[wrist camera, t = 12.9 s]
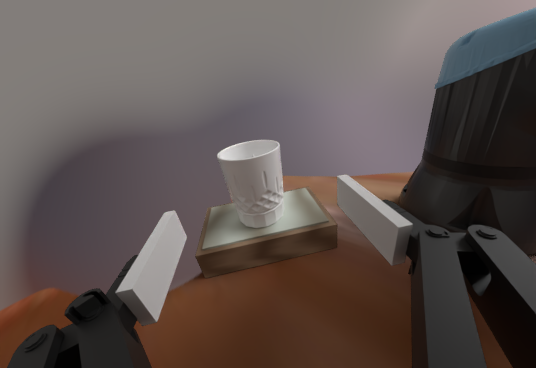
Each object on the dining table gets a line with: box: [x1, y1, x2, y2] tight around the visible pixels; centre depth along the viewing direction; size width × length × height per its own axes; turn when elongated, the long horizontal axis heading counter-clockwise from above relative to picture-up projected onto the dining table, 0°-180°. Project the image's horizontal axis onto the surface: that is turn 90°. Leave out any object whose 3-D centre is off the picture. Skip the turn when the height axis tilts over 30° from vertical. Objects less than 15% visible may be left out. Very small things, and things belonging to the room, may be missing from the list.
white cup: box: [217, 140, 284, 228], centre depth 26 cm, size 8×8×10 cm
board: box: [195, 187, 337, 278], centre depth 29 cm, size 18×11×4 cm, turn 98°
